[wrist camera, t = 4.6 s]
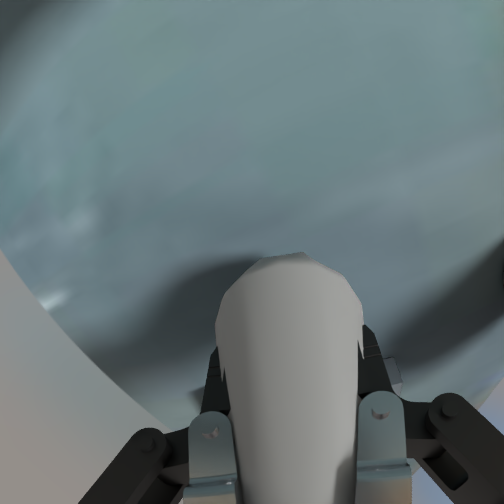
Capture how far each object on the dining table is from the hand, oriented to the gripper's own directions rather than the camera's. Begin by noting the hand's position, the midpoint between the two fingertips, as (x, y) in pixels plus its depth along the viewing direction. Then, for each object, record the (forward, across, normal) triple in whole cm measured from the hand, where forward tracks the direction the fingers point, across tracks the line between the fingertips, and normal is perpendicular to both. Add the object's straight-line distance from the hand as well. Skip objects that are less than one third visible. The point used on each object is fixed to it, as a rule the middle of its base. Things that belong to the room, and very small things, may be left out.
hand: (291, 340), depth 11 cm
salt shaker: (+3, 0, 0) cm, 3 cm away
